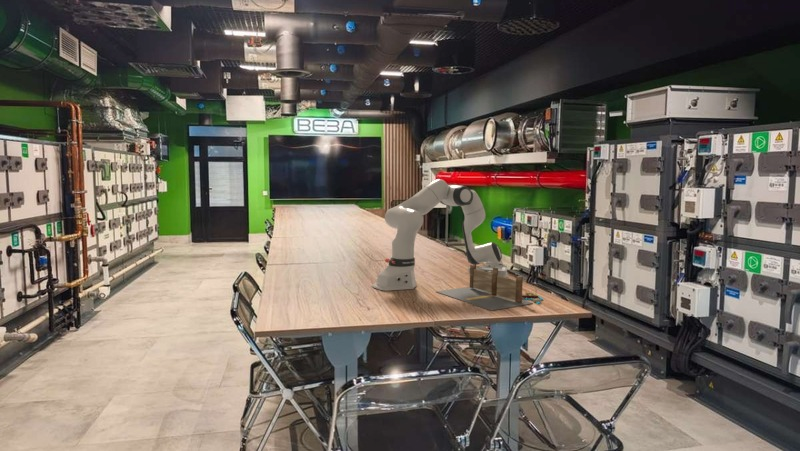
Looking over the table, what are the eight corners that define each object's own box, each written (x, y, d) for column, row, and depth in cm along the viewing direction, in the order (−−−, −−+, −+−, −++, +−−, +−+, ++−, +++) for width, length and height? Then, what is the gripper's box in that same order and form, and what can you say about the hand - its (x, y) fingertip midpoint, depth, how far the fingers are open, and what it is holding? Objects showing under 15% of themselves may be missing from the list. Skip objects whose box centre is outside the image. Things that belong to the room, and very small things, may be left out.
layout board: (491, 311, 216) (491, 309, 216) (435, 292, 249) (435, 291, 249) (532, 303, 229) (533, 302, 229) (474, 286, 262) (474, 285, 261)
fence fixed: (518, 304, 228) (519, 274, 226) (490, 295, 242) (491, 268, 241) (522, 303, 229) (523, 274, 228) (494, 295, 244) (495, 267, 242)
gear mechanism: (526, 305, 228) (547, 305, 228) (527, 293, 228) (548, 293, 228) (515, 294, 248) (535, 294, 248) (515, 283, 248) (535, 283, 248)
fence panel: (490, 293, 243) (491, 269, 242) (469, 287, 255) (470, 264, 254) (493, 293, 244) (494, 269, 243) (472, 286, 257) (473, 264, 255)
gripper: (471, 262, 283) (464, 266, 271) (509, 265, 276) (504, 269, 263) (471, 273, 284) (464, 278, 271) (509, 277, 276) (503, 282, 263)
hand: (484, 274), depth 267 cm, fingers closed
